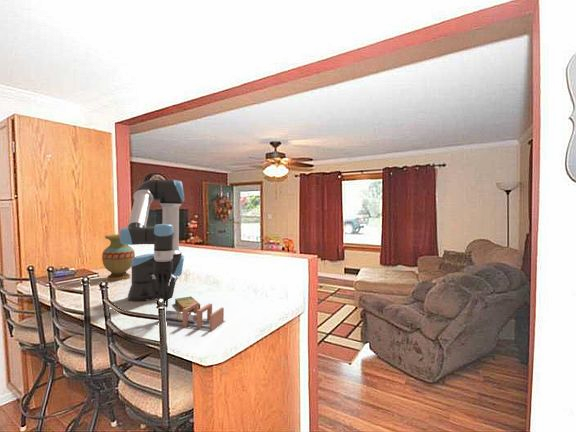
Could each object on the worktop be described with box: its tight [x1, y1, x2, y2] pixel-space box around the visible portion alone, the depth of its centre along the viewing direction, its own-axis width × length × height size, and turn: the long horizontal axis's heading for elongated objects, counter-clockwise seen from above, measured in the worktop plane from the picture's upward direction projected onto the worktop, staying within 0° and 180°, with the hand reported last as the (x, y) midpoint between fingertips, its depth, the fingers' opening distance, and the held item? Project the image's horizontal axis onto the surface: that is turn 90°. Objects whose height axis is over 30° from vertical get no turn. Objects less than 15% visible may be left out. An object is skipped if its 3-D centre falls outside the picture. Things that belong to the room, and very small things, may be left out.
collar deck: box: [154, 301, 226, 333], centre depth 127 cm, size 26×12×8 cm, turn 75°
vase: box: [101, 233, 136, 281], centre depth 209 cm, size 20×20×30 cm
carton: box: [174, 295, 201, 313], centre depth 147 cm, size 8×16×4 cm, turn 33°
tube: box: [166, 310, 197, 324], centre depth 128 cm, size 16×4×4 cm, turn 75°
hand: (162, 314), depth 130 cm, fingers closed
